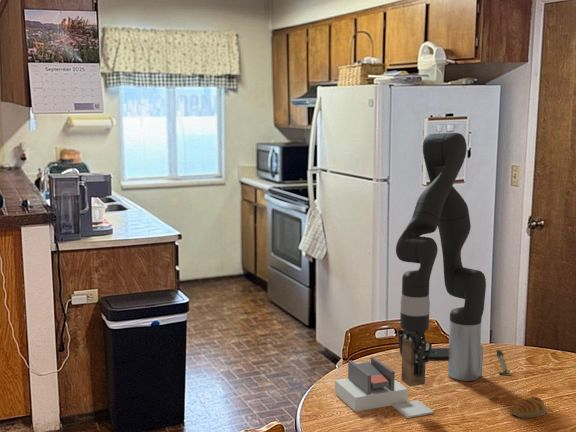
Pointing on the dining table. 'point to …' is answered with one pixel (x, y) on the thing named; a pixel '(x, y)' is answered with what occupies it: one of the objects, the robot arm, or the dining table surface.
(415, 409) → the mat
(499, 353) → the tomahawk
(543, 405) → the pastry
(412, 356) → the peg
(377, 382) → the rocker
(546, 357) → the dining table surface
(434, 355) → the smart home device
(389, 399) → the grey slotted holder
